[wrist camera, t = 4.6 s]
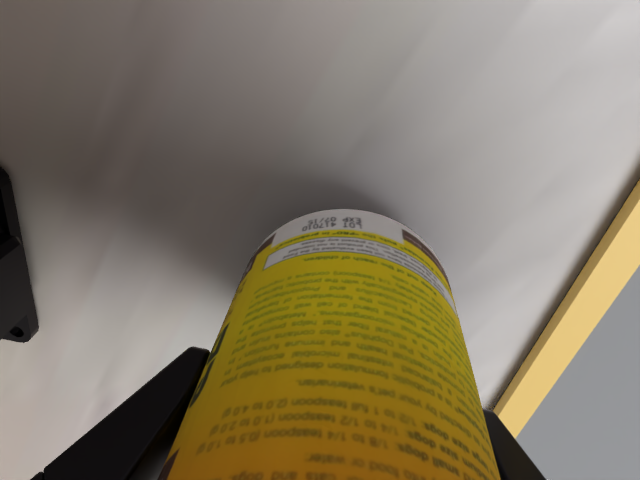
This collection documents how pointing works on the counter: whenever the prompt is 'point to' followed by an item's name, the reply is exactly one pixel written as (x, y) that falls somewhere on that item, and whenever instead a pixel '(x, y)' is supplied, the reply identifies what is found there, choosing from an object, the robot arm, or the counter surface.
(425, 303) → the supplement bottle
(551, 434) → the mat
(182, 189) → the counter surface
